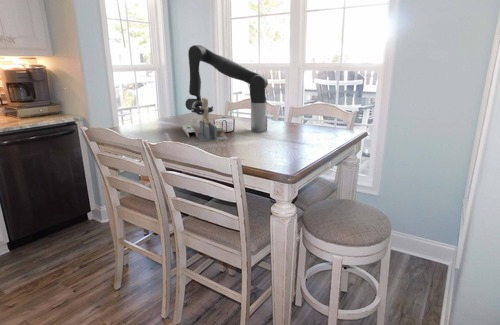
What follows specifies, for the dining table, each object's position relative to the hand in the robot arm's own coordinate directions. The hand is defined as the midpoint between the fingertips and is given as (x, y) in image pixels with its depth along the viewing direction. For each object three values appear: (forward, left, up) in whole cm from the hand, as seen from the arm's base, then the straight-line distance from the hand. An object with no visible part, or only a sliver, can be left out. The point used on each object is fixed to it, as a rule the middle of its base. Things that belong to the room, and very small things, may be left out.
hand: (206, 111), depth 179 cm
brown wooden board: (0, -2, -13) cm, 13 cm away
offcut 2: (-6, +1, -12) cm, 13 cm away
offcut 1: (-6, 0, -10) cm, 12 cm away
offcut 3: (-6, 0, -13) cm, 14 cm away
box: (+8, -6, -15) cm, 19 cm away
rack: (-1, +3, -15) cm, 15 cm away
